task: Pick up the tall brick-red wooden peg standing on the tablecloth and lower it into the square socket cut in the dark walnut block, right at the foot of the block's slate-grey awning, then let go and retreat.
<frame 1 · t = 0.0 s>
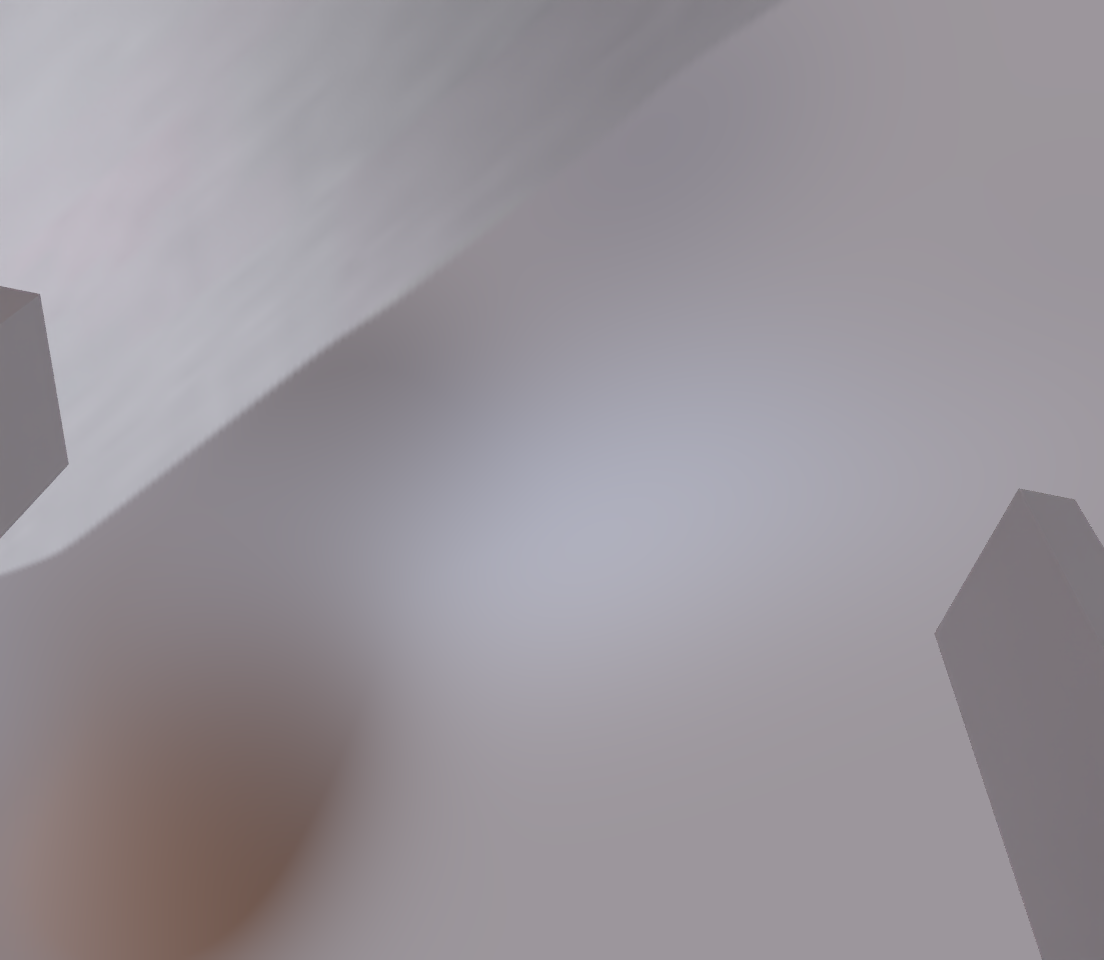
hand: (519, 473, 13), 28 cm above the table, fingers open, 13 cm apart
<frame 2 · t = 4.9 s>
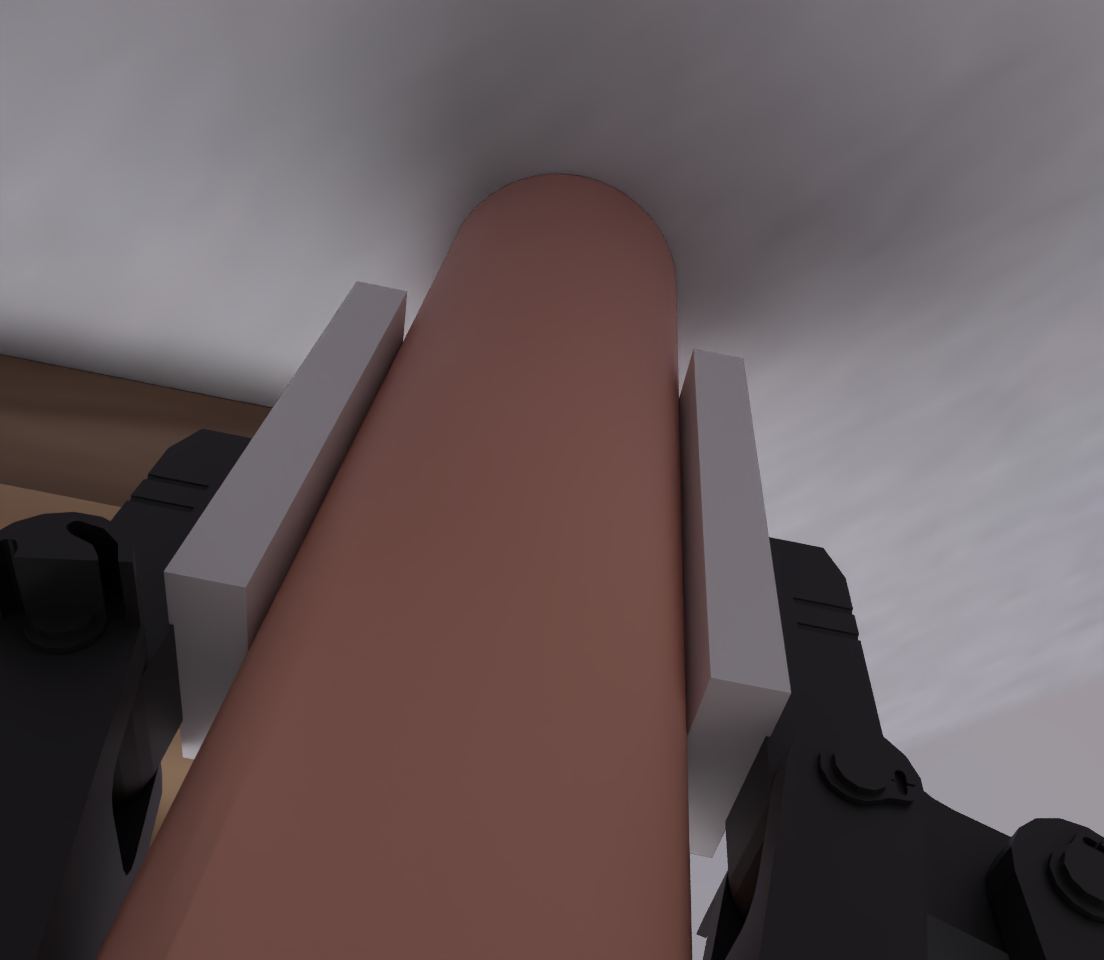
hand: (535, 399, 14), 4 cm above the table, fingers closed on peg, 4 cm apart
station: (75, 622, 25), on the table
peg: (560, 289, 18), on the table, touching gripper
when the fingers open (5 cm above the table, at t = 10.1 s): peg stays where it is, resting in station.
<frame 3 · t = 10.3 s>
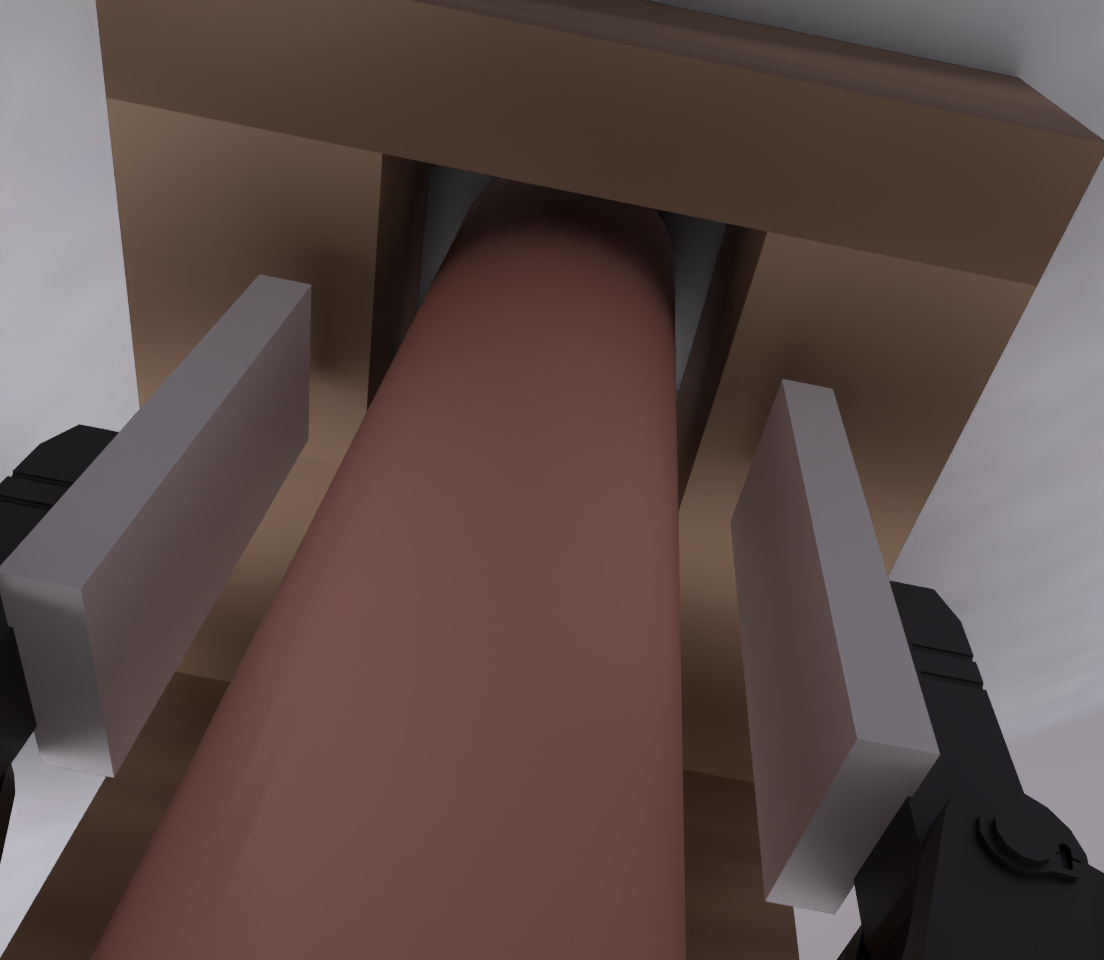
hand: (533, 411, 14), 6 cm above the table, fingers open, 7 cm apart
station: (540, 395, 20), on the table
peg: (563, 270, 19), resting in station
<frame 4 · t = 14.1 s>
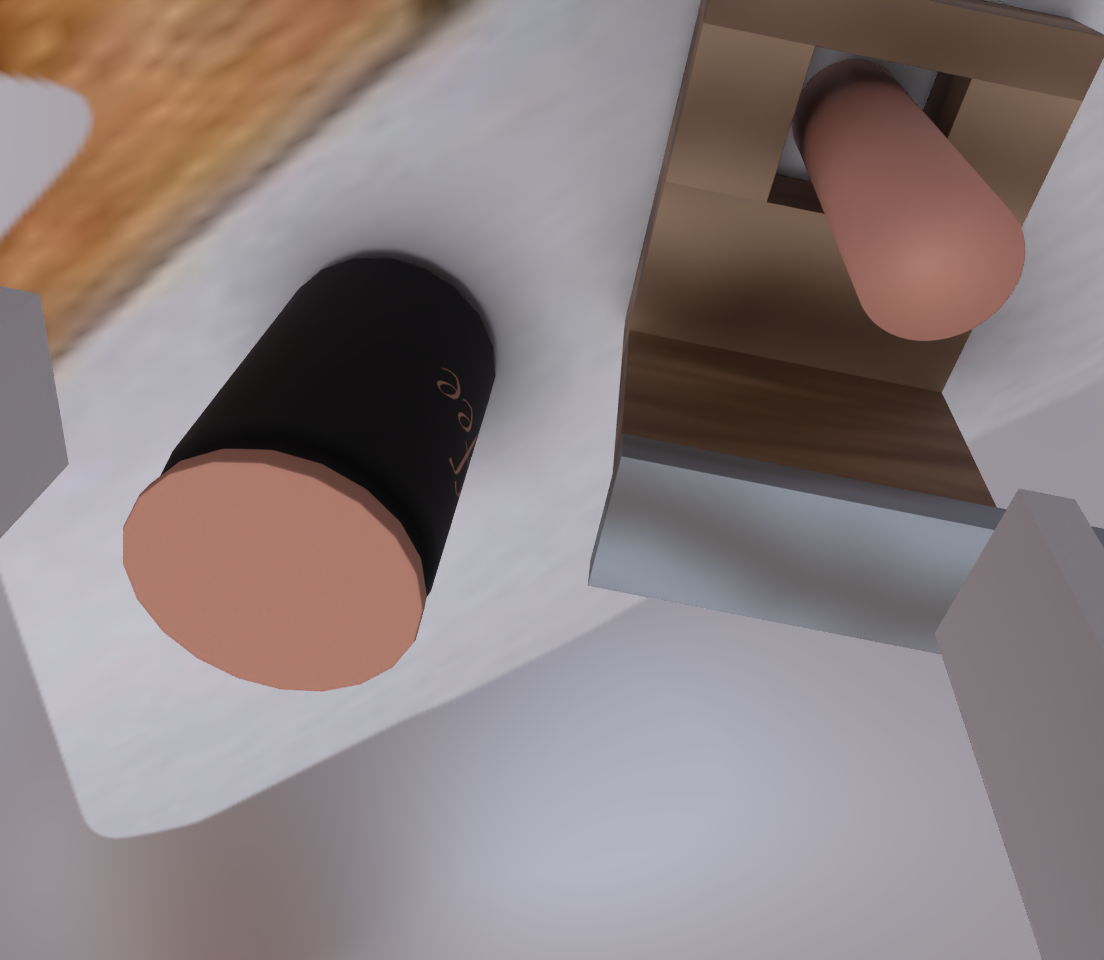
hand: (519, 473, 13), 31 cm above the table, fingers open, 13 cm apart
coffee jar: (395, 346, 47), on the table
station: (823, 186, 40), on the table
peg: (846, 116, 39), resting in station
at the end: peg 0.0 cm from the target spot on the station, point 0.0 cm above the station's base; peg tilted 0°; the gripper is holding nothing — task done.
